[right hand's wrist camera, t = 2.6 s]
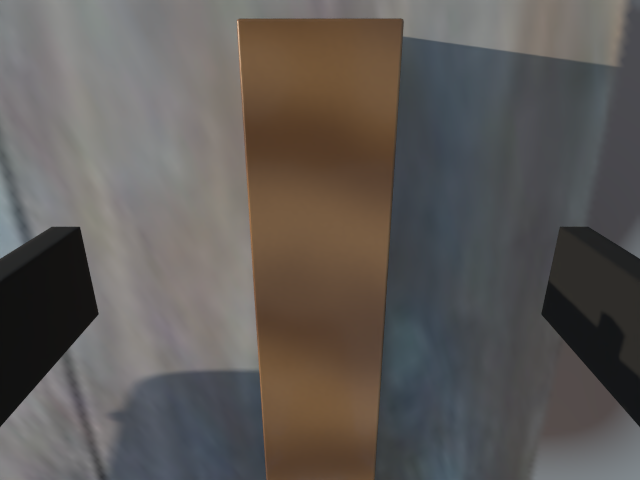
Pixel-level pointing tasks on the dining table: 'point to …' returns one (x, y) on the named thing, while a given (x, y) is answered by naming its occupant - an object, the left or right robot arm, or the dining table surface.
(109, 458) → the dining table surface
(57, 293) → the right robot arm
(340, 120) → the beam
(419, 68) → the dining table surface
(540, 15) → the dining table surface
